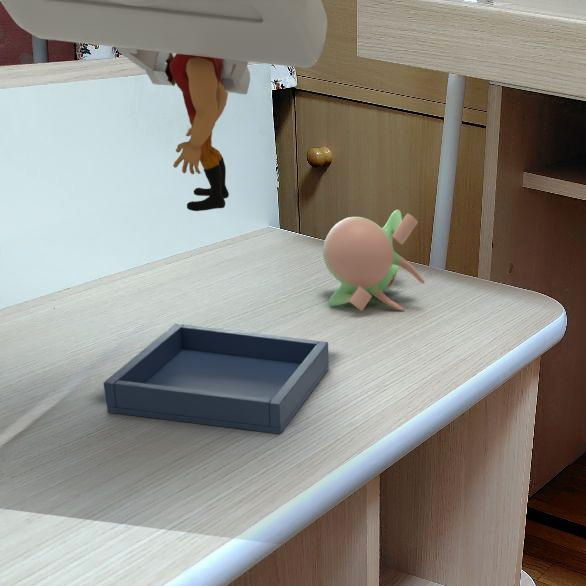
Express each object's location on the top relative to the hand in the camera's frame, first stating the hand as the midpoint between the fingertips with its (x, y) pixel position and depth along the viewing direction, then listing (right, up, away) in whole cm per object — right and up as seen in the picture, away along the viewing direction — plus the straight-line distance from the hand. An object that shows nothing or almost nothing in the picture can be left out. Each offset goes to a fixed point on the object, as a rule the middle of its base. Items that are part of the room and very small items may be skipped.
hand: (202, 81), depth 71 cm
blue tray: (-2, -20, +11) cm, 23 cm away
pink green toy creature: (+6, -8, +33) cm, 35 cm away
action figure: (-1, -8, +4) cm, 9 cm away
